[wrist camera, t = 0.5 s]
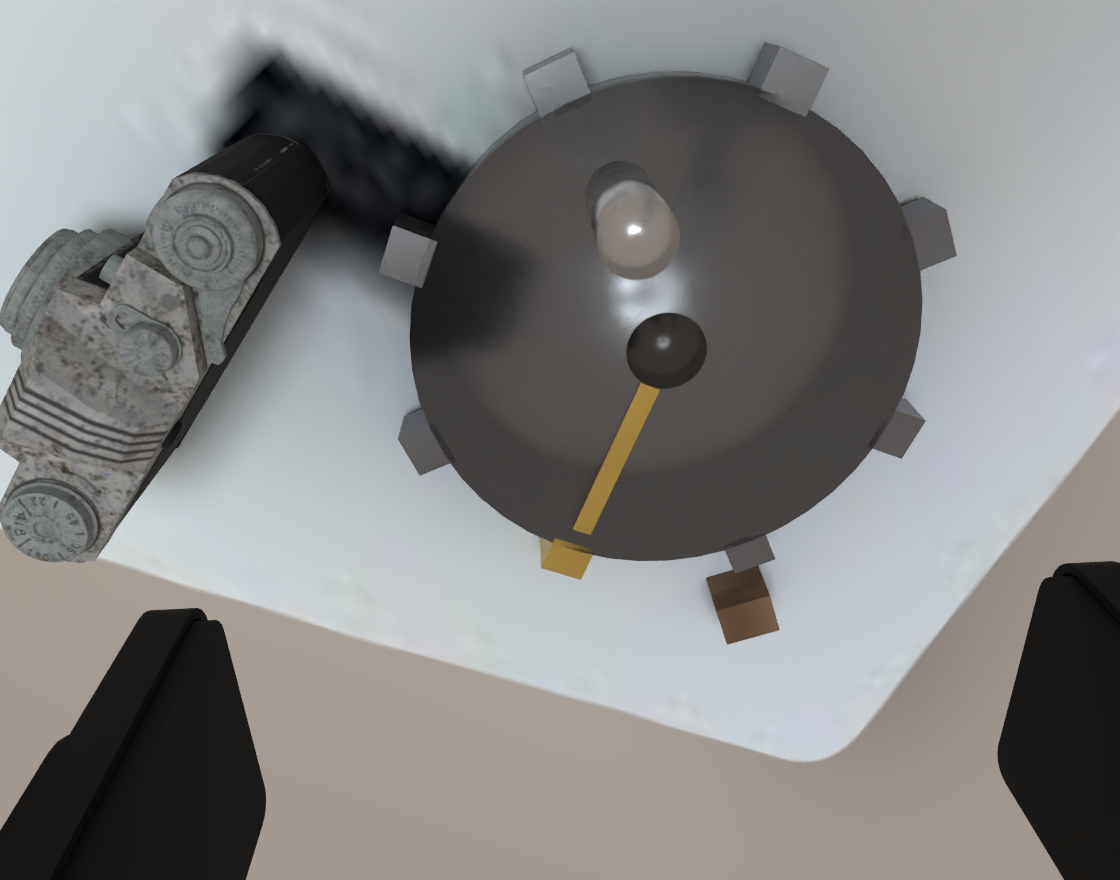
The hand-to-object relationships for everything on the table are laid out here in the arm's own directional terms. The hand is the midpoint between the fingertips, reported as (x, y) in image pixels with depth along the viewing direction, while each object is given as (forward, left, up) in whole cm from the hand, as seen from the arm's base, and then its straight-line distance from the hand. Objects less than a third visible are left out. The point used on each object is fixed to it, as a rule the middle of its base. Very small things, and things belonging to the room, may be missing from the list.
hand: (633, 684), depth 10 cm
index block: (-2, +20, -25) cm, 32 cm away
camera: (+15, -2, -26) cm, 30 cm away
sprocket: (-2, +6, -25) cm, 26 cm away
